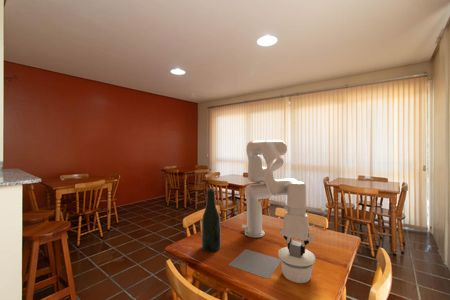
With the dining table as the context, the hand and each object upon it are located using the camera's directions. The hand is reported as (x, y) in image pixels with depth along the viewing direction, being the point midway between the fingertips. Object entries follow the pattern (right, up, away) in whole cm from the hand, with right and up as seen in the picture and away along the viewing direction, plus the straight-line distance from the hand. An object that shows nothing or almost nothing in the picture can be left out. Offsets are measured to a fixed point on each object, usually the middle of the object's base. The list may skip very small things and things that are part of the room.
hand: (296, 252), depth 92 cm
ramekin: (0, -10, 0) cm, 10 cm away
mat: (-16, -10, +10) cm, 21 cm away
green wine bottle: (-38, -10, +26) cm, 47 cm away
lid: (0, -2, 0) cm, 2 cm away
